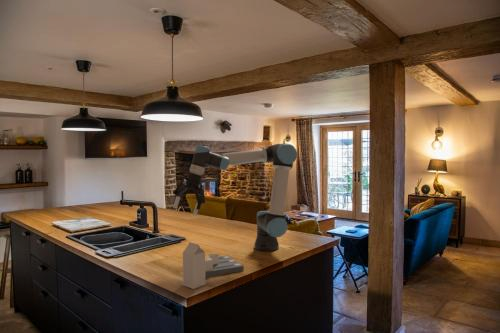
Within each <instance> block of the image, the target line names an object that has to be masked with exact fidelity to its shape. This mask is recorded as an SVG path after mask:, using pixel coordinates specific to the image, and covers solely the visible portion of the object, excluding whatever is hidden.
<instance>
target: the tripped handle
mask: <svg viewBox="0 0 500 333" xmlns="http://www.w3.org/2000/svg"><path fill="white" fill-rule="evenodd" d="M219 257H220V254H219V253H218V252H216V251H214V252H209V253H208V258H211V259H212V260H213V265H214V264H219Z"/></svg>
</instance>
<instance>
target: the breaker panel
mask: <svg viewBox="0 0 500 333" xmlns="http://www.w3.org/2000/svg"><path fill="white" fill-rule="evenodd" d="M244 268H245V267H244V265H243V264H242V263H240V262H239V261H237V260H236V259H234V258H232V257H231V256H229V255H227V254H226V255H223V256H219V264H214V265H213V260H212V259H211V258H209V257H208V258H206V257H205V278H210V277H215V276H222V275H226V274H227V273H228V274H232V273H233V274H234V273H237V272H244Z"/></svg>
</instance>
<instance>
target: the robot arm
mask: <svg viewBox="0 0 500 333" xmlns="http://www.w3.org/2000/svg"><path fill="white" fill-rule="evenodd" d="M297 157H298V152H297V149H296V147H295V146H294V145H292V144H290V143H285V142H284V143H276V144H273V145H267V146H262V147H261V148H257V149H251V150H243V151H242V150H241V151H233V152H224V153H214V152H211V148H210V147H208V146H204V145H202V144H199V145H197V146H196V148H195V151H194V154H193V157H192V161H191V164H190V167H189V172H188V174H187V179H185V178H184V179H183V178H182V179H181V182H180V183H179V184H178V185H177V187H176V188H175V189H174V190H173V192H172V194H174V195H175V196H174V199H173V202H174V203H173V207H172V208H173V209H178V208H179V207H178V206H179V204H180V200H181V195H182V194H184V193H185V192H186V191H188V190H190V191H192V192H193V193H194V196H195V199H196V202H195V206H194V209H193V212H192V216H197V215H198V211H199V210H201V206H202V204H203V205H204V204H206V198H205V185H204V184H201V182H202V178H203V175H204V171H205V168H206V166H208V167H210V168H214V169H218V170H220V171H221V170H222V171H227V169H228V167H229V166H235V165H236V166H237V165H243V164H244V165H245V164H251V163H260V162H263V163H266V164H267V163H272V166H273V169H274V171H273V177H272V179H273V180H272V185H271V186H272V187H271V194H270V201H269V208H268V210H260V211H258V212H257V213H256V237H255V238H256V239H255V241H254V244H253V247H254V249H255V250H257V251H262V252H271V251H276V249H277V250H278V249H279V242H278V239H277V238H281V237H282V236H284V235H285V234H286V233H287V230H288V223H287V220H286V218H287V214H286V212H285V204H286V198H287V190H288V184H289V183H288V182H289V175H290V170H291V169H293V167H294V163H295V162H296V160H297Z"/></svg>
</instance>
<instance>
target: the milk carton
mask: <svg viewBox="0 0 500 333" xmlns="http://www.w3.org/2000/svg"><path fill="white" fill-rule="evenodd" d="M205 259H206V251H205V250H203V249H202V248H201V246H200V244H199V243H194V242H190V241H188V245H186V247H185V249H184V250H183V252H182V284H183V287H187V288H189V289H192V290H195V289H198V288H200V287H203V286H206V277H205Z"/></svg>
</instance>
